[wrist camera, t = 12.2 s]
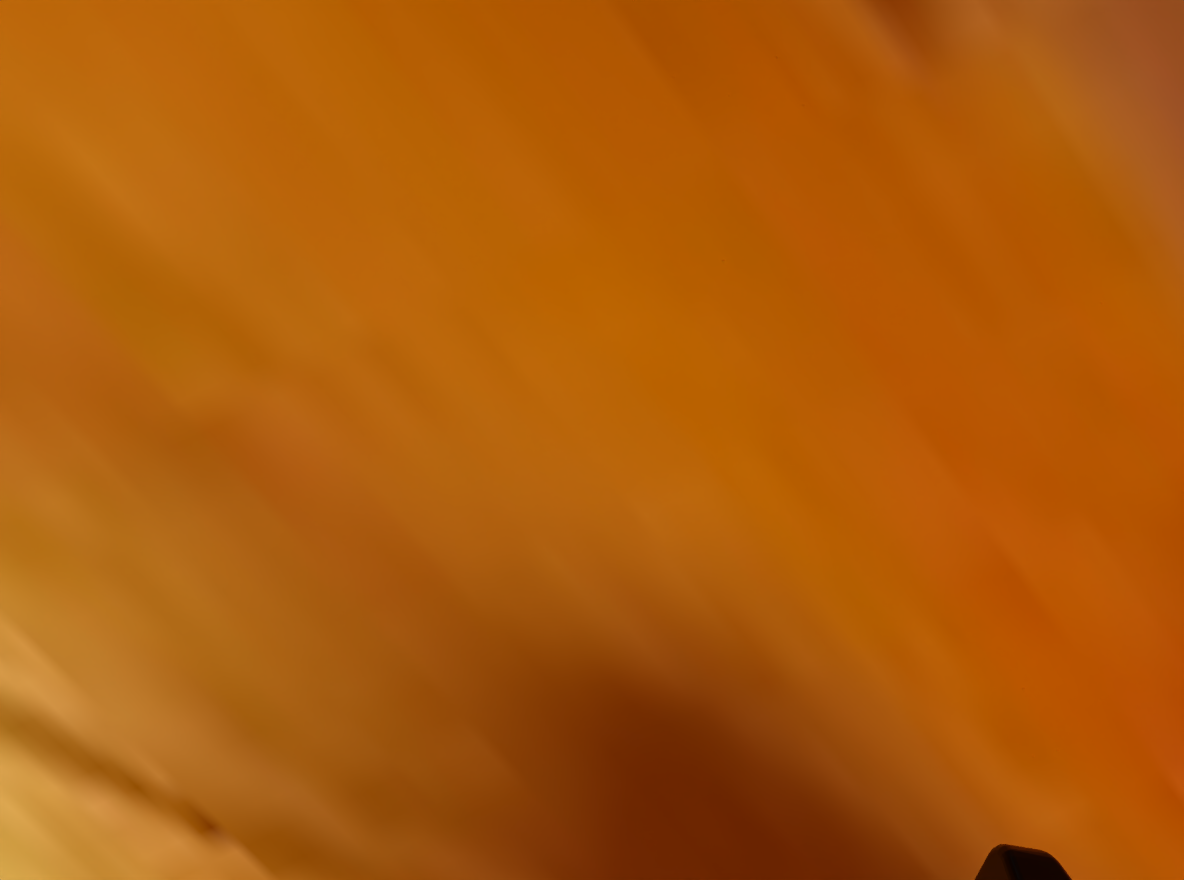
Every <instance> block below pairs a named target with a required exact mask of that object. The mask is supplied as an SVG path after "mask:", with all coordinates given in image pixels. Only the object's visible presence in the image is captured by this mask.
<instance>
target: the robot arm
mask: <svg viewBox="0 0 1184 880" xmlns="http://www.w3.org/2000/svg"><path fill="white" fill-rule="evenodd" d="M975 880H1072V879H1071V878H1070V877H1069V875H1068V874H1067V873H1066V871H1065V870H1064V869H1063V867H1062V866H1061V864H1060V863H1059V862H1058V861H1057V860H1056V859H1055V858H1054V857H1053V856H1052V855H1050V854H1049V853H1047V852H1045V851H1042V850H1038V849H1032V848H1025V847H1019V846H1013V845H1007V844H1000V845H998V846H996V847H995V848H993V849H992V850H991V852H990V853H989V854H988V856H987V858H986V860H985V862H984V864H983V865H982V867H981V869H980V871H979V873H978V875H977V876H976V878H975Z"/></svg>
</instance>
